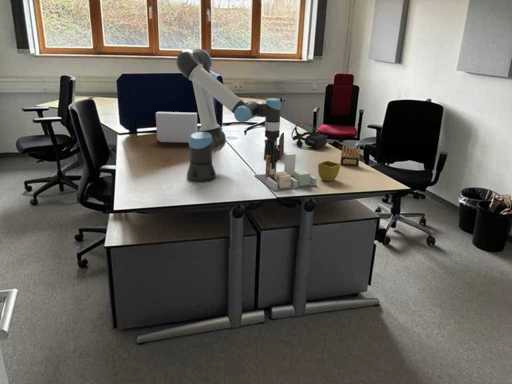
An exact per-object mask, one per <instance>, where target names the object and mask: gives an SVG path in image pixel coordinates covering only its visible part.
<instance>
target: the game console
mask: <svg viewBox="0 0 512 384" xmlns="http://www.w3.org/2000/svg"><path fill="white" fill-rule="evenodd" d="M155 122H156V124H155V125H156V126H155V127H156V138H157V140H158V141H159V142H160V143H185V144H186V143H187V144H189V137H190V135H192V134H193V133H196V132H197V133H198V132H199V129H198V112H183V111H182V112H181V111H180V112H179V111H174V112H173V111H157V112H155Z"/></svg>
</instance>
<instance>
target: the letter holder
mask: <svg viewBox="0 0 512 384" xmlns="http://www.w3.org/2000/svg"><path fill="white" fill-rule="evenodd" d="M278 145H279V151H278V162H279V161H281V158H282V157H283V155H284V152H285V133H284V132H282V133H280V135H279V140H278ZM263 152H264V153H263V160H265V159H266V158H265V148H264V151H263Z"/></svg>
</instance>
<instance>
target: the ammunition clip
mask: <svg viewBox="0 0 512 384" xmlns="http://www.w3.org/2000/svg"><path fill="white" fill-rule="evenodd" d="M360 149H361V148H360V146H358V148H357V146H355V147H354V146H353V145H352V147H351V145H349V147H348V145H346V146H345V145H342V148H341V153H340V163H339V164H341V165H340V166H344V167H346V166H347V167H357V168H358V167H359V164H360V155H361V154H360V153H361V152H360V151H361V150H360Z"/></svg>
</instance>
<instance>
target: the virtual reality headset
mask: <svg viewBox="0 0 512 384" xmlns="http://www.w3.org/2000/svg"><path fill="white" fill-rule="evenodd" d="M300 124H301V122H300V123H297V124H296V125H295V127H294V128H293V129H292V132H291V138H292V140H293V141H296V140H297V141H296V146H297V147H298V148H301V147H303V144H305V145H306V146H308V147H310V148H313V149H315V150H320V149H322V148H324V147H326V144H327V143H328V135H327V134H321V133H320V134H319V133H318V130H317V129H316V127H314V126H313V125H312V124H310V123H308V122H303V125H308V126H310V127H311V129H313V130H314V131H313V130H311V132H310V131H305V132H303V133H299V131H298V128H297V127H298V126H299V125H300ZM294 133H295V135H294ZM293 135H294V136H293ZM303 141H304V143H303Z"/></svg>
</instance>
